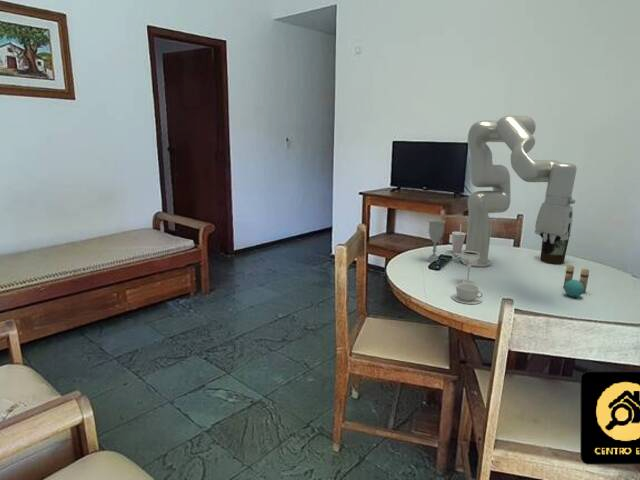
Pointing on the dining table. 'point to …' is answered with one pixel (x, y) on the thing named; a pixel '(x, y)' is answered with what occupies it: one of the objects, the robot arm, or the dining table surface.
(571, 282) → the ball
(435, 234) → the chalice
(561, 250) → the olive oil
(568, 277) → the back left pin
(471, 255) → the wineglass
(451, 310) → the dining table surface
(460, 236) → the smoothie
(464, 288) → the teacup
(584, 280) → the back right pin
